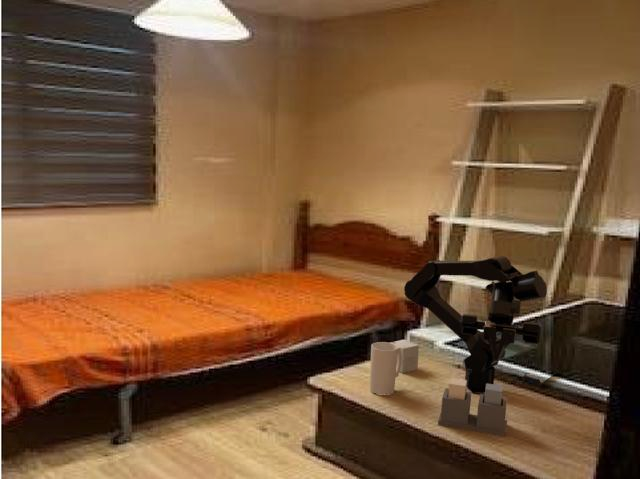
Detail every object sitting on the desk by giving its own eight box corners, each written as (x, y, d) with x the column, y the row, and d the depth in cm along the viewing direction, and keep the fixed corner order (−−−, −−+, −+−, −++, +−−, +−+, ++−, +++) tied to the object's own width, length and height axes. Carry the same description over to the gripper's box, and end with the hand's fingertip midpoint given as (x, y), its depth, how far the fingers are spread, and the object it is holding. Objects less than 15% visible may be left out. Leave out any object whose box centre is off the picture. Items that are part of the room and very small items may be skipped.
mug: (381, 398, 156) (384, 352, 154) (363, 389, 161) (365, 345, 159) (409, 389, 162) (412, 345, 160) (390, 381, 167) (393, 338, 165)
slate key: (483, 412, 144) (486, 383, 143) (499, 414, 143) (502, 385, 142) (482, 418, 141) (485, 389, 140) (499, 421, 140) (502, 391, 139)
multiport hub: (556, 374, 179) (557, 366, 178) (537, 388, 168) (538, 380, 167) (541, 370, 181) (542, 362, 181) (521, 384, 170) (522, 376, 170)
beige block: (448, 406, 147) (451, 378, 146) (464, 408, 146) (466, 380, 144) (447, 412, 143) (449, 383, 142) (462, 415, 142) (465, 386, 141)
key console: (441, 413, 149) (443, 387, 148) (506, 424, 144) (509, 397, 143) (437, 424, 143) (440, 397, 142) (505, 436, 138) (508, 408, 137)
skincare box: (418, 370, 177) (419, 345, 175) (401, 373, 173) (403, 348, 172) (403, 363, 182) (405, 338, 180) (387, 366, 178) (389, 342, 177)
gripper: (463, 282, 153) (454, 338, 144) (544, 291, 147) (540, 350, 138) (465, 305, 161) (456, 360, 153) (541, 314, 155) (536, 372, 147)
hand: (496, 360), depth 147 cm, fingers closed
